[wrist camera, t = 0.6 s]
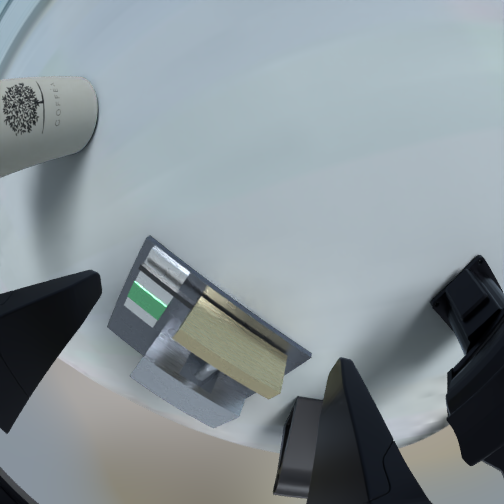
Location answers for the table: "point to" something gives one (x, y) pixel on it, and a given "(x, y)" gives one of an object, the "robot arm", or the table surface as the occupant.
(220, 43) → the table surface
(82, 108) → the travel mug
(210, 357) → the plate
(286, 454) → the phone stand
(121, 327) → the frame
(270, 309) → the table surface
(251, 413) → the table surface
